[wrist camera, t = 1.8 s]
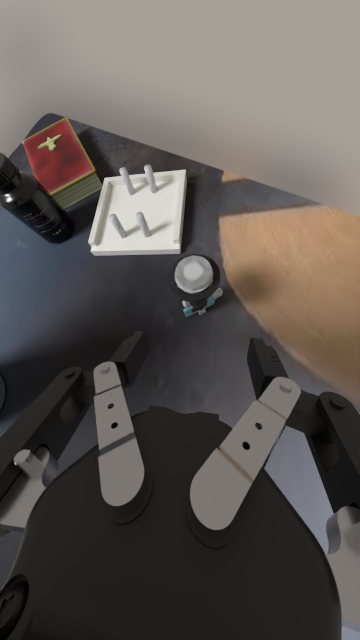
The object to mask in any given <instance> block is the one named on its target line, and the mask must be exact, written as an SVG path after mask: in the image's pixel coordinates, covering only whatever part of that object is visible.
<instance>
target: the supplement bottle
mask: <svg viewBox="0 0 360 640" xmlns="http://www.w3.org/2000/svg"><path fill="white" fill-rule="evenodd" d="M0 205H1V206H2V207H4V208H5V209H6V210H7V211H9V212H10V213H11V214H12V215H14V216H15V217H16V218H18V219H19V220H20V221H21V222H23V223H24V224H25V225H27V226H28V227H29V228H30V229H32V230H33V231H34V232H36V233H37V234H38V235H39V236H41V237H42V238H43V239H45V240H46V241H48V242H50V243H61V242H63V241H65V240H67V239H68V238H69V237H70V236H71V234H72V233H73V230H74V221H73V219H72V218H71V217H70V215H69V214H68V213H67V212H66V211H65V210H64V209H63V208H62V207H61V205H60V204H59V203H58V202H57V201H56V200H55V199H54V198H53V197H52V196H51V194H50V193H49V192H48V191H47V190H46V189H45V188H44V187H43V186H42V185H41V183H40V182H39V181H38V180H37V179H36V178H35V177H34V176H32V175H31V174H29V173H27V172H23V171H19V169H18V168H17V166H16V165H15V164H13V163H12V162H11V161H10V160H9V159H8V158H7V157H6V156H5V155H4V154H2V153H0Z"/></svg>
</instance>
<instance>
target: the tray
mask: <svg viewBox="0 0 360 640" xmlns="http://www.w3.org/2000/svg"><path fill="white" fill-rule="evenodd" d="M144 170H145V173H146V174H137V175H128V172H127V170H126V168H125V167H122V168H120V170H119V171H120V174H121V176H117V177H107V178H104V182H103V186H102V190H101V194H100V198H99V202H98V206H97V210H96V214H95V218H94V222H93V226H92V230H91V234H90V237H89V241H88V243H89V244H90V245H91V246H92V248H91V252H92V253H93V254H94V255H95V256H100V255H146V254H180V253H181V242H182V231H183V220H184V209H185V198H186V187H187V178H186V170H178V171H167V172H157V173H153V171H152V168H151V165H146V166H145V167H144Z"/></svg>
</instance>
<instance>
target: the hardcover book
mask: <svg viewBox="0 0 360 640" xmlns="http://www.w3.org/2000/svg"><path fill="white" fill-rule="evenodd" d="M22 143H23V145H24V148H25V151H26V154H27V157H28V160H29V162H30V165H31V168H32V171H33V174H34V176H35V178H36V179H37V180H38V181H39V182H40V183H41V185H42V186H43V187H44V188H45V189H46V190H47V191H48V192H49V193H50V194H51V196H52V197H53V198H54V199H55V200H56V201H57V202H58V203H59V204H60V205H61V207H62V208H63V209H65V208H67V207H69V206H71V205H73V204H74V203H76V202H78V201H80V200H82V199H84V198H85V197H87V196H89V195H91V194H93V193H95V192H96V191H98V190H100V189H102V184H101V182H100V180H99V178H98V176H97V174H96V172H97V171H96V169H95V167H94V165H93V164H92V162H91V160H90V158H89V156H88V155H87V153H86V151H85V149H84V147H83V145H82V144H81V142H80V140H79V138H78V136H77V134H76V133H75V131H74V129H73V127H72V125H71V124H70V122H69V120H68V118H67V117H65V118H63V119H61V120H60V121H58V122H56V123H54V124H52V125H51V126H49V127H47V128H45V129H43V130H41V131H40V132H38V133H36V134H34V135H32V136H30V137H29V138H27V139H25V140H23V141H22Z"/></svg>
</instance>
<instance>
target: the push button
mask: <svg viewBox="0 0 360 640" xmlns="http://www.w3.org/2000/svg"><path fill="white" fill-rule="evenodd" d="M212 279H213V283H212V285H211V281H212ZM219 282H220V271H219V268H218V266H217V264H216V263H215V262H214V261H213V260H212V259H211V258H209V257H207V256H205V255H201V254H191V255H187V256H184V257H182V258H180V259H179V260H178V261H177V262H175V264H174V265H173V266H172V268H171V270H170V272H169V285H170V288H171V290H172V291H173V293H174V294H175V295H176V296H177V297H179V298H180V299H179V303H180V306H181V308H182V310H183V312H184V314H185V316H186V317H189V316H190V315H193V314H195V313H197V312H199V315H201V314H203V313H205V312H206V309H205V308H207V307H209V306H211V305H213V304H214V301H215V299H216V298H217V297H219V296H221V295H222V293H223V291H222V289H221V288H219V289H217V287H218V285H219ZM176 284H177V285H178V287H179V288H180V290H179V289H178V288H177V287H176ZM210 286H211V287H210ZM216 289H217V290H216ZM218 290H219V291H218ZM217 291H218V292H217ZM219 294H220V295H219ZM202 312H203V313H202Z"/></svg>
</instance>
